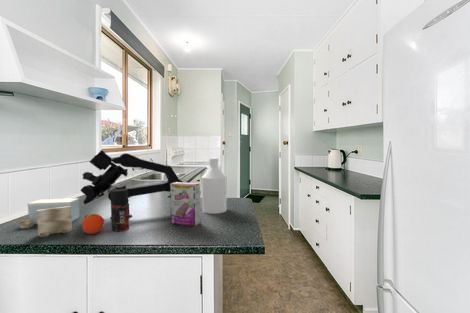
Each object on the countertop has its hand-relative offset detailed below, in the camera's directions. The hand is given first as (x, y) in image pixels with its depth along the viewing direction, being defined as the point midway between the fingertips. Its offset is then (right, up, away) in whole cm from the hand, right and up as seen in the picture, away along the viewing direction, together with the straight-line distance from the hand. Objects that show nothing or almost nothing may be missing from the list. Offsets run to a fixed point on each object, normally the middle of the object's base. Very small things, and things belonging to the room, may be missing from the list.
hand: (84, 203), depth 108 cm
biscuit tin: (-12, -7, -1) cm, 14 cm away
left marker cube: (-17, -8, -9) cm, 21 cm away
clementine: (+13, -8, -16) cm, 22 cm away
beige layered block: (-1, -8, -15) cm, 17 cm away
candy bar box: (+45, -7, -7) cm, 46 cm away
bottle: (+55, -6, +13) cm, 56 cm away
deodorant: (+21, -8, -12) cm, 26 cm away
